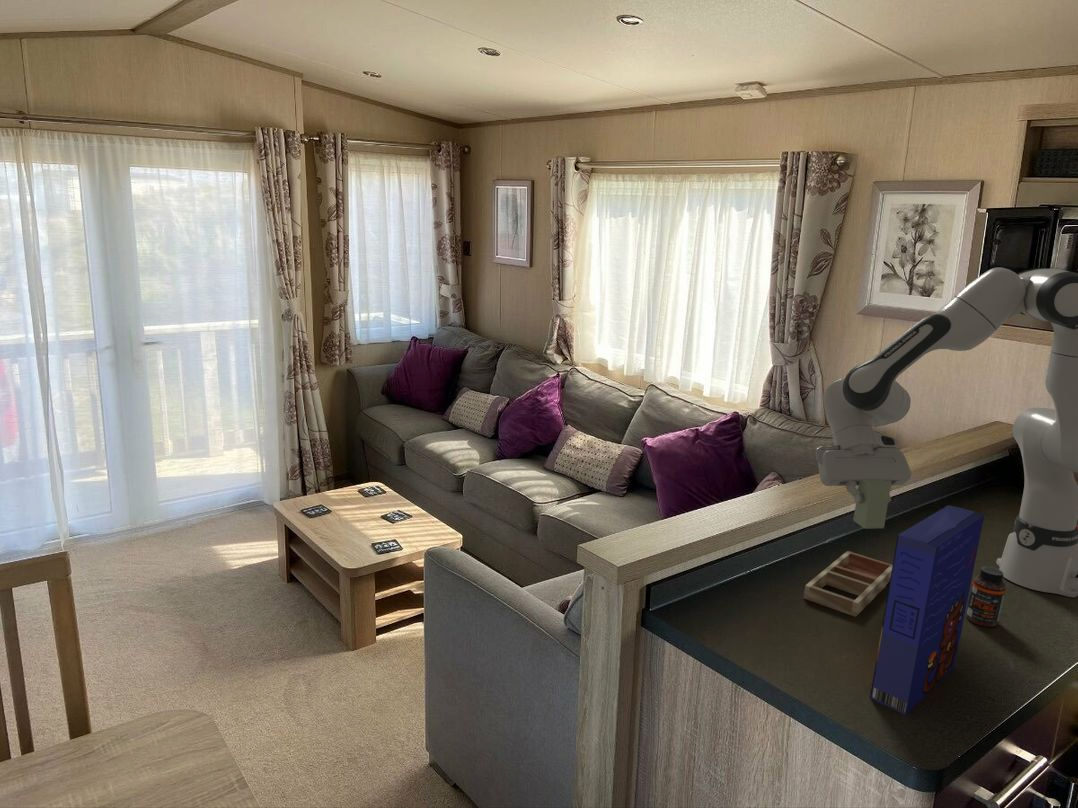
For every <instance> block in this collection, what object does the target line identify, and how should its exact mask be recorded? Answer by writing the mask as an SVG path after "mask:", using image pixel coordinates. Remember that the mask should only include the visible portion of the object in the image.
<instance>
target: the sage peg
mask: <svg viewBox="0 0 1078 808" xmlns="http://www.w3.org/2000/svg"><path fill="white" fill-rule="evenodd" d="M890 487H891V488H892V486H891V485H890V484H889V483H887V482H885V481H884V480H882V479H861V481H859V485H858V486H857V490H858V491H859V492H860V493H864V497H865V502H863V503H855V507H854V513H853V519H852V520H853V522H854V523H856V524H857V525H858V526H861V528H863V529H868V530H869V529H885V523H886V517H887V511H888V504H889V503H888V500H889V494H890V493H891V490H890ZM890 495H891V494H890Z"/></svg>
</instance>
